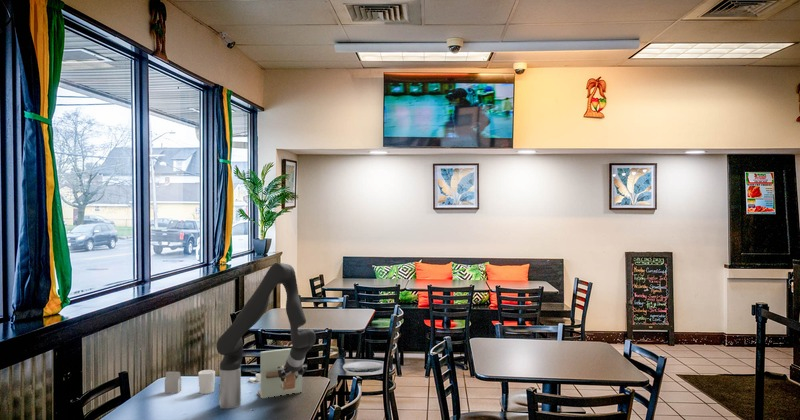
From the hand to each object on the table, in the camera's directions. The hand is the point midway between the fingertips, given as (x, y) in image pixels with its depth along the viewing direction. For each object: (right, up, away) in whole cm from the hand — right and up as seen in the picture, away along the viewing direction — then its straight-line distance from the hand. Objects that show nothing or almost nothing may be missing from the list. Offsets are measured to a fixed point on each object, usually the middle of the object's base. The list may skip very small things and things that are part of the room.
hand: (288, 378), depth 262 cm
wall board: (-6, -11, +13) cm, 19 cm away
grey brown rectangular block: (-61, -12, +17) cm, 65 cm away
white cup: (-44, -12, +17) cm, 49 cm away
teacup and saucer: (-24, -12, +38) cm, 46 cm away
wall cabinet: (0, -5, 0) cm, 5 cm away
